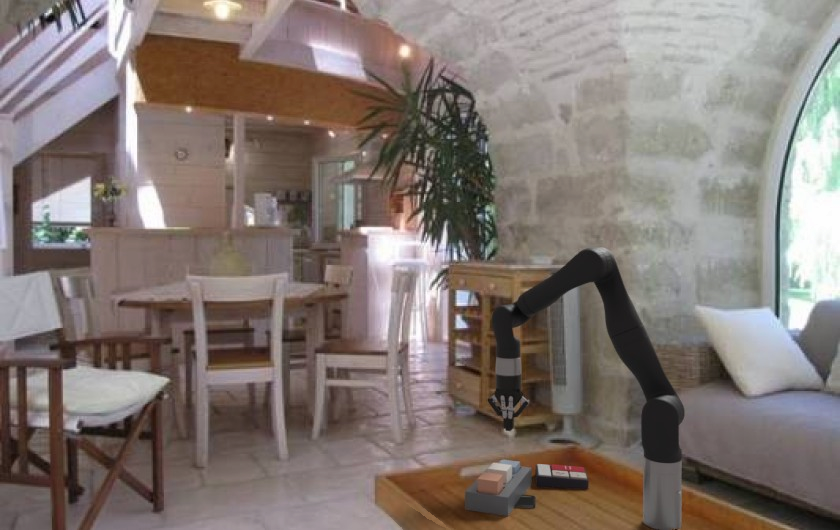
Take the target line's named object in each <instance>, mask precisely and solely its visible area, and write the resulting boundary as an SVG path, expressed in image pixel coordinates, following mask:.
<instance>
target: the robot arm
mask: <svg viewBox="0 0 840 530" xmlns="http://www.w3.org/2000/svg"><path fill="white" fill-rule="evenodd" d="M620 272H621V271H620V269H619V266H618V263H617V262H616V259H615V257H614V255H613V252H611V251H610V250H609V249H607V248H605V247H602V246H594V247H589V248H584V249H581V250H579V252H578V253H576V255H574V256H573V257H572V258H571V259H570V260H569V261H568V262H567V263H566V264H564V265H563V266H562V267H560V268H559V269H558V270H557V271H556V272H555V273H553V274H552V275H550V276H549V277H547V278H545V279H544V280H541V282H538V283H537V284H536V285H534V286H533V287H531V288H529V289H528V290H526V291H524V292H523V293H521V294H520V295H519V296H518V298H517V300H516V301H515V302H512V303H510V304H503V305H499V306H496V308H494V310H493V311H492V314H491V326H492V330H493V335H494V339H495V342H496V360H495V369H494V370H495V390H494V393H493V395H492V396H490V397H488V398H487V400H486V401H487V402H488V404H489V405H490V406H491V408H492V409H493V411H494V413H495V414H496V415H497V416H499V417H502V419H503V426H502V427H503V429H505V431H506V432H512V430H513V429H514V427H515V418H518V417H519V416H520V415H521V414H522V413H523V411H524V410H525V409H526V408H527V407H528V406H529V404H530V403H531V400H530V399H527V398H526V397H524V393H523V391H522V361H521V340H520V338H519V337H517V336H515V335H514V331H513V329H515V328H519V327H520V326H522V325H524V324H526V323H527V322H528V321H529V320H531V318H532V317H533V316H535V315H537V314H539V313H541V312H542V311H543V310H546V309H547V308H549V307H550V306H552V305H553V304H554V303H556V302H557V301H558V300H559V299H560V298H561V297H563V296H564V295H565V294H567V293H569V292H570V291H571V290H573V289H577V288H579V287H580V286H583V285H586V284H590V283H594V285H595V287H596V290H597V291H598V293H599V295H600V297H601V301H602V304H603V309H604V320H605V327H606V331H607V334H608V337H609V339H610V341H611V343H612V346H613V349H614V351H615V352H616V355H618V357H619V359H620V360H621V361H622V363H623V364H624V365H625V367H626V368H627V369H628V370H629V371H630V373H632V374H633V376H634V377H635V379H636V380H637V382H638V384H639V386H640V388H641V391H642V393H643V395H644V397H645V400H646V402H645V403H644V405H643V407H642V410H641V414H640V415H641V416H640V419H641V420H640V424H641V425H640V427H641V428H640V429H641V430H640V431H641V434H640V435H641V446H642V449H643V482H642V483H643V486H642V487H643V489H642V490H643V491H642V492H643V493H642V495H643V496H642V498H643V499H642V502H643V503H642V504H643V505H642V509H643V510H642V516H643V517H642V522H643V524H644V525H645V526H647V527H649V528H651V529H655V530H658V529H659V530H671V529H680V528H682V508H683V506H682V503H683V502H682V498H683V497H682V495H683V494H682V493H683V491H682V490H683V487H682V486H683V485H682V466H683V465H682V462H683V461H682V457H683V456H682V455H683V451H682V448H681V447H680V432H679V431H680V425H681V424H682V422H683V420H684V419H685V407H684V404H683V402H682V400H681V398H680V396H679V395H678V393H677V392H676V390H675V389H674V387H673V385H672V384H671V382H670V381H669V378H668V376H667V374H666V373H665V370H664V369H663V367H662V364H661V362H660V359H659V356H658V355H657V353H656V350H655V348H654V346H653V343H652V341H651V339H650V336H649V334H648V332H647V329H646V328H645V326H644V324H643V322H642V320H641V317H640V316H639V314H638V312H637V310H636V307H635V305H634V304H633V301H632V299H631V297H630V296H629V295H630V294H629V293H628V291H627V288H626V286H625V284H624V281H623V278H622V275H621V273H620ZM519 403H520V407H519V408H518V409H517V410H516V406H517V405H518V404H519ZM499 404H500V405H501V406H500V405H499ZM680 530H681V529H680Z"/></svg>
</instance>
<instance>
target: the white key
mask: <svg viewBox="0 0 840 530" xmlns="http://www.w3.org/2000/svg"><path fill="white" fill-rule="evenodd" d="M492 463H493V464H492ZM492 463H491V464H492V465H491V464H490V465H491V466H490V465H489V466H490V467H489V466H488V467H489V468H488V467H487V468H488V473H493V474H500V475H503V483H504V484H508V483H509V482H510V480H511V479H512V465H508V464H500V463H499V462H498V463H497V462H492Z"/></svg>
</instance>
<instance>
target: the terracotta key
mask: <svg viewBox="0 0 840 530" xmlns="http://www.w3.org/2000/svg"><path fill="white" fill-rule="evenodd" d="M483 472H484V471H483ZM483 472H482V473H481V474H480V476H478V477H477V479H478V492H481V493H488V494H495V495H499V494H500V492H501V491H502V490H503V475H500V474H493V473H485V472H484V473H483Z"/></svg>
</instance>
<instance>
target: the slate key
mask: <svg viewBox="0 0 840 530" xmlns="http://www.w3.org/2000/svg"><path fill="white" fill-rule="evenodd" d="M498 463H500V464H508V465H512V474H517V472H518V471H519V470H520V466H521V461H515V460H509V459H501V460H500V461H498Z"/></svg>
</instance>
